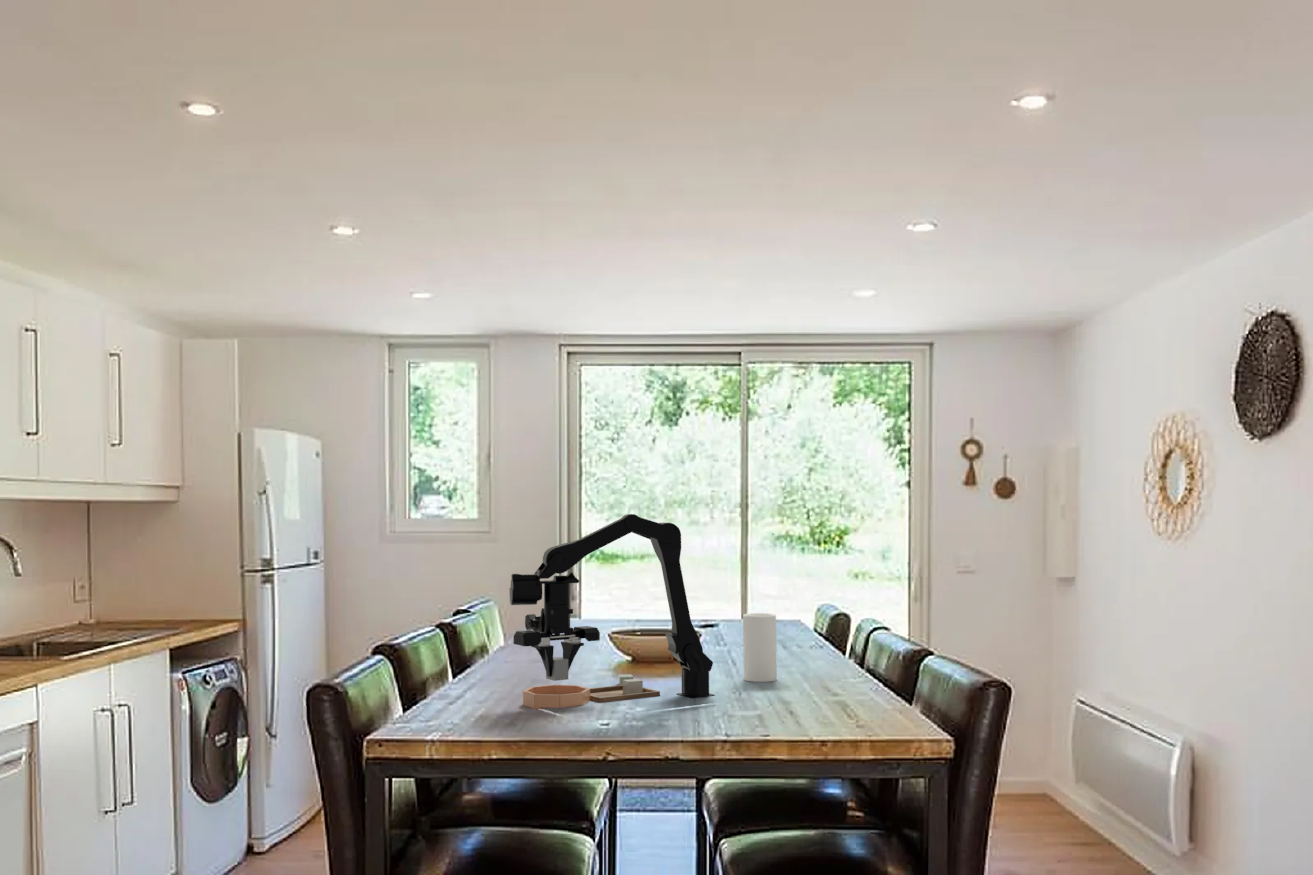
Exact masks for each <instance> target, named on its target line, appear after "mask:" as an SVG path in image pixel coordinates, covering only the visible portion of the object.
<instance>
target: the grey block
mask: <svg viewBox="0 0 1313 875" xmlns="http://www.w3.org/2000/svg"><path fill="white" fill-rule="evenodd" d="M545 675H546V676H545V678H546V679H547V680H550V681H565V680H569V671H568V659H566V658H563V656H562V657H561V656H557V657H556V656H555V657H554V656H553V670H552V676H551V677H548V675H547V672H546V671H545Z"/></svg>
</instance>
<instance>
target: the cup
mask: <svg viewBox="0 0 1313 875" xmlns="http://www.w3.org/2000/svg"><path fill="white" fill-rule="evenodd" d="M742 631H743V632H742V636H743V637H742V638H743V639H742V641H743V642H742V645H743V646H742V647H743V648H742V649H743V680H744V681H745V682H746V681H747V682H753V683H755V682H756V683H770V682H775V681H777V680H778V679H777V678H778V673H777V672H778V670H777V667H778V665H777V664H778V663H777V660H778V658H777V654H778V653H777V615H776V614H774V613H768V612H767V613H765V612H764V613H762V612H760V613H758V612H757V613H756V612H755V613H754V612H753V613H744V614H743V615H742Z"/></svg>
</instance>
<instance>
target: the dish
mask: <svg viewBox="0 0 1313 875" xmlns="http://www.w3.org/2000/svg"><path fill="white" fill-rule="evenodd" d="M590 701H591V700H590V689H589V688H588V687H586V686H582V685H578V684H546V685H545V684H544V685H539V686H530V687H528V688H527V689H525V690H523V691H522V706H525V707H527V708H531V709H534V710H545V708H556V709H557V708H558V709H559V708H567V707H569V708H570V707H575V706H577V707H578V706H584V705H585V704H587V703H589V702H590Z"/></svg>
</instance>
